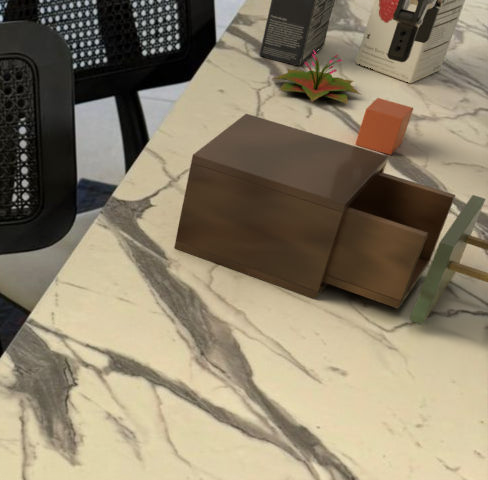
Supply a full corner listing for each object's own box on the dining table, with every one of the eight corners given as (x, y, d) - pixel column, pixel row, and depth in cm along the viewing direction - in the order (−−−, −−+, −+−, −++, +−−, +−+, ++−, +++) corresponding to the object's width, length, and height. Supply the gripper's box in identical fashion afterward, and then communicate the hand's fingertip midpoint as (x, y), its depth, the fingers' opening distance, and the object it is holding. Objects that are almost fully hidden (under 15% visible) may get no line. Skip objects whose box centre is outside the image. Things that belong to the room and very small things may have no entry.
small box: (281, 36, 149) (300, -42, 142) (324, 47, 147) (345, -32, 140) (255, 55, 142) (274, -25, 135) (300, 67, 140) (321, -14, 133)
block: (401, 143, 123) (413, 107, 120) (390, 155, 120) (403, 118, 117) (366, 133, 125) (377, 97, 122) (354, 144, 122) (366, 108, 119)
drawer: (515, 293, 96) (550, 218, 91) (487, 348, 89) (524, 269, 84) (321, 228, 103) (344, 155, 98) (280, 274, 96) (302, 197, 91)
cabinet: (358, 247, 103) (388, 156, 96) (315, 299, 95) (345, 204, 88) (225, 202, 108) (246, 113, 102) (173, 248, 100) (192, 154, 93)
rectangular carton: (352, 64, 143) (386, -53, 133) (385, 51, 148) (420, -63, 138) (410, 85, 138) (450, -35, 128) (442, 71, 143) (482, -45, 133)
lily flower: (263, 97, 131) (271, 61, 128) (275, 67, 139) (284, 32, 136) (357, 116, 129) (368, 79, 125) (364, 84, 137) (375, 49, 134)
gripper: (482, -93, 98) (423, 76, 109) (513, -115, 108) (456, 42, 118) (406, -109, 101) (355, 57, 112) (443, -130, 110) (393, 26, 121)
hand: (407, 50), depth 115 cm, fingers open, 8 cm apart
